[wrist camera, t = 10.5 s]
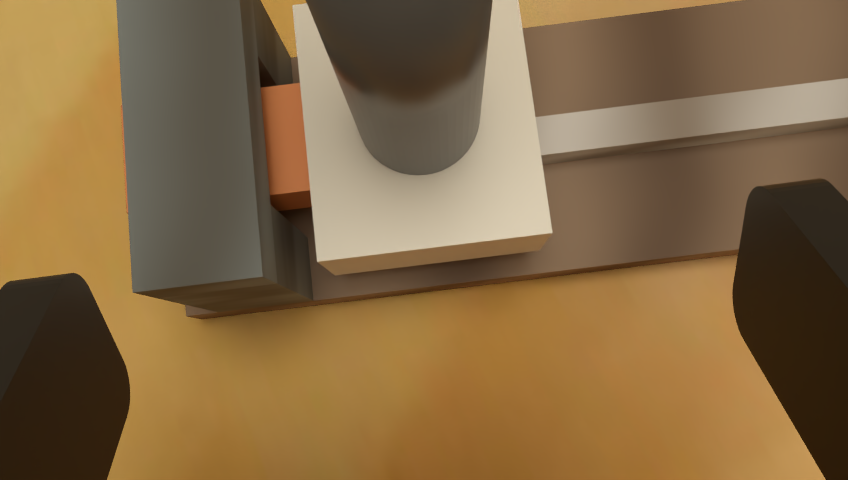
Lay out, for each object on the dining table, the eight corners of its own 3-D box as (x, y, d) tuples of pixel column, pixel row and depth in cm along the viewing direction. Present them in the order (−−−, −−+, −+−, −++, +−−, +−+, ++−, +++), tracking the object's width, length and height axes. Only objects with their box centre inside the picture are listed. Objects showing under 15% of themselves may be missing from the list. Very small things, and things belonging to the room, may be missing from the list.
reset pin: (155, 226, 23) (127, 212, 21) (149, 127, 23) (120, 105, 21) (325, 205, 22) (313, 189, 20) (315, 106, 23) (303, 82, 21)
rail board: (201, 319, 26) (89, 297, 18) (185, 89, 27) (74, -26, 19) (1118, 207, 25) (1423, 134, 17) (1056, -21, 26) (1313, -187, 18)
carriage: (334, 275, 23) (149, 132, 9) (312, 50, 24) (117, -388, 10) (539, 250, 23) (675, 66, 9) (507, 25, 24) (582, -453, 10)
